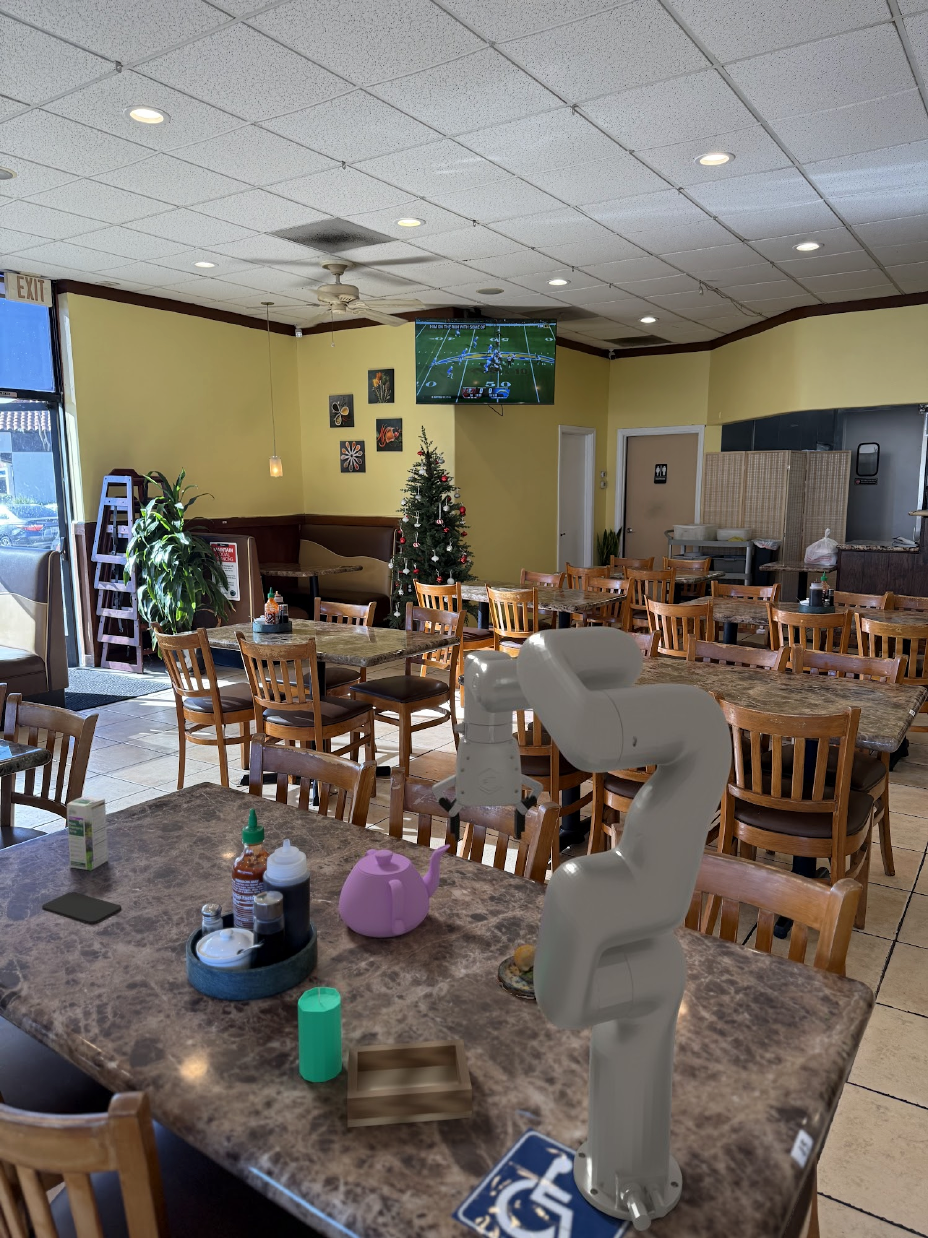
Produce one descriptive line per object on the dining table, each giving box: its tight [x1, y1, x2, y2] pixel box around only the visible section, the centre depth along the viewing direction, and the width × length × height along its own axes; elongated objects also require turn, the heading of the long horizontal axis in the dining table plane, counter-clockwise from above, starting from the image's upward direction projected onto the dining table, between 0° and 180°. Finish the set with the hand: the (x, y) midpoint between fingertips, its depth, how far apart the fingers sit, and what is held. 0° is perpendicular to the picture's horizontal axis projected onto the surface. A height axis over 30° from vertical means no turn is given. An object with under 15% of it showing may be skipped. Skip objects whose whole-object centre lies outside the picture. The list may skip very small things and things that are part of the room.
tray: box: [346, 1038, 473, 1128], centre depth 115 cm, size 16×11×4 cm
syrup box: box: [66, 796, 109, 872], centre depth 186 cm, size 6×6×14 cm
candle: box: [297, 986, 343, 1083], centre depth 119 cm, size 6×6×12 cm
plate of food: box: [496, 940, 536, 998], centre depth 142 cm, size 12×12×8 cm
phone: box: [41, 891, 122, 925], centre depth 167 cm, size 7×1×15 cm
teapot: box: [338, 844, 451, 938], centre depth 162 cm, size 22×22×14 cm
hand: (487, 837), depth 134 cm, fingers open, 9 cm apart
